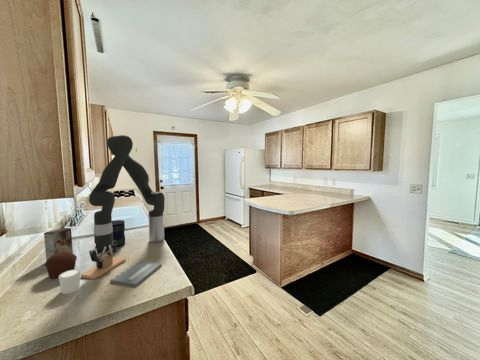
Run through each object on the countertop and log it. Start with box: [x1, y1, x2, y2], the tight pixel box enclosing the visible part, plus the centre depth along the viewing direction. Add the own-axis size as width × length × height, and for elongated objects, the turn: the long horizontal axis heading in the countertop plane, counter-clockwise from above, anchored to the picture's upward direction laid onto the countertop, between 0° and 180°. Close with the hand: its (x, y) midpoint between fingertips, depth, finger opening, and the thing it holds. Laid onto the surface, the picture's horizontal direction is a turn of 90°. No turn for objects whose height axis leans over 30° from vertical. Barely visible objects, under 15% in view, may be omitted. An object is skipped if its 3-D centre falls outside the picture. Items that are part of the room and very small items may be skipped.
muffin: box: [43, 252, 77, 280], centre depth 93 cm, size 12×11×10 cm
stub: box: [80, 254, 127, 280], centre depth 98 cm, size 18×8×6 cm, turn 167°
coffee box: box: [43, 227, 74, 262], centre depth 107 cm, size 9×6×16 cm
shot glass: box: [58, 268, 81, 295], centre depth 82 cm, size 7×7×7 cm
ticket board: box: [109, 260, 162, 288], centre depth 94 cm, size 18×13×1 cm
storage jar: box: [112, 219, 126, 248], centre depth 126 cm, size 10×10×15 cm
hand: (104, 265), depth 98 cm, fingers closed on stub, 5 cm apart
